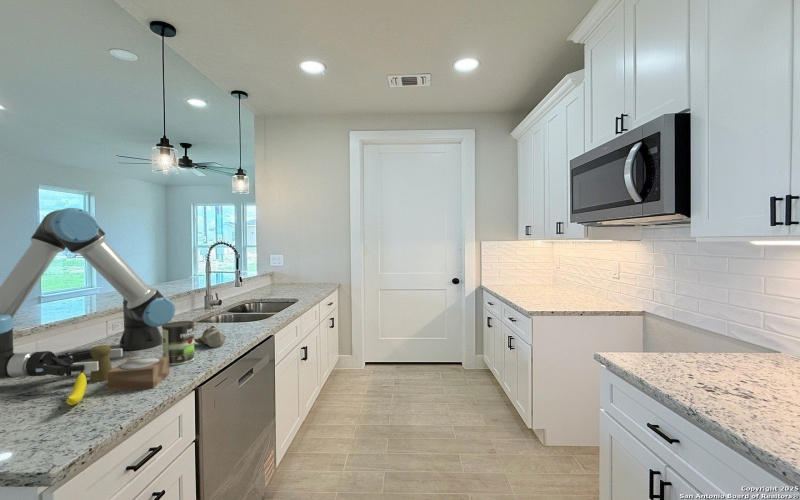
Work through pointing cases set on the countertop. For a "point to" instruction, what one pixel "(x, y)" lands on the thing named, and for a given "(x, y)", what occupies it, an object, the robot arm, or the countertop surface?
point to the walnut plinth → (138, 374)
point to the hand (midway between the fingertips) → (110, 358)
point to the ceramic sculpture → (212, 337)
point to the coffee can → (178, 342)
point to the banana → (78, 390)
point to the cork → (101, 363)
